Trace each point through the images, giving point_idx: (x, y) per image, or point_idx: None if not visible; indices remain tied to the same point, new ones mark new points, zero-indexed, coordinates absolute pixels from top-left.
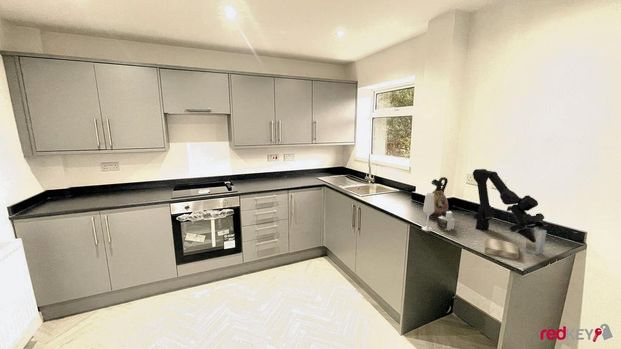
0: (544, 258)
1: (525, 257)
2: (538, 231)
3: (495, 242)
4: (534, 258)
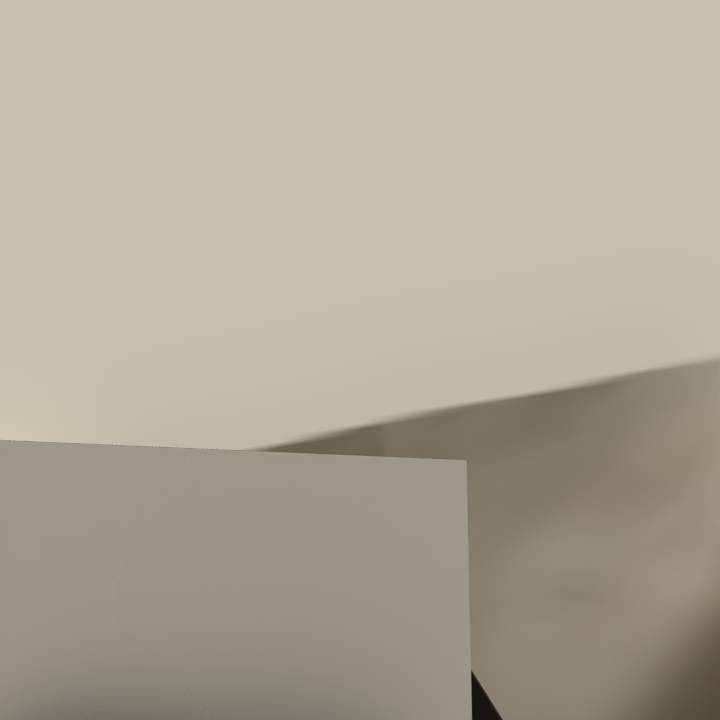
0: (350, 442)
1: (681, 568)
2: (461, 502)
3: None
4: (537, 490)
